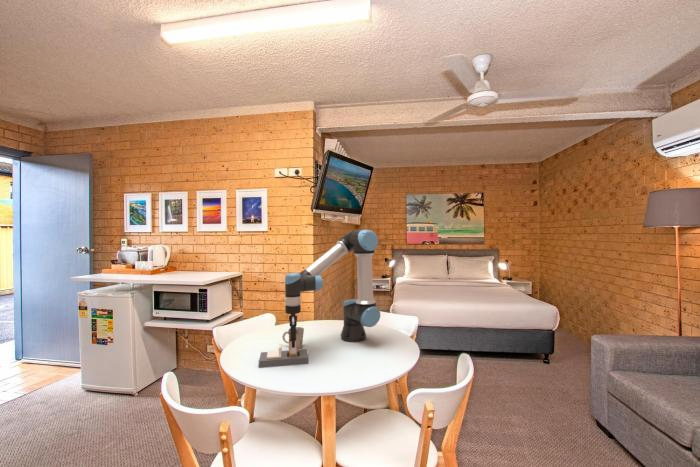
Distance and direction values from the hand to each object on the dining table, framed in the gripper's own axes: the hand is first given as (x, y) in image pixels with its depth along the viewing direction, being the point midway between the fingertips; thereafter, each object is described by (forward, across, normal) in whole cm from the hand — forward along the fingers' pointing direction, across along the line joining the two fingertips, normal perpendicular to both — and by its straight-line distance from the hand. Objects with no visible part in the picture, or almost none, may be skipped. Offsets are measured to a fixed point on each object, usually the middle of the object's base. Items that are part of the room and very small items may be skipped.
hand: (293, 351), depth 161 cm
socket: (+4, 0, -4) cm, 6 cm away
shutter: (+1, 0, -9) cm, 9 cm away
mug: (+4, -20, 0) cm, 20 cm away
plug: (+2, 0, 0) cm, 2 cm away
